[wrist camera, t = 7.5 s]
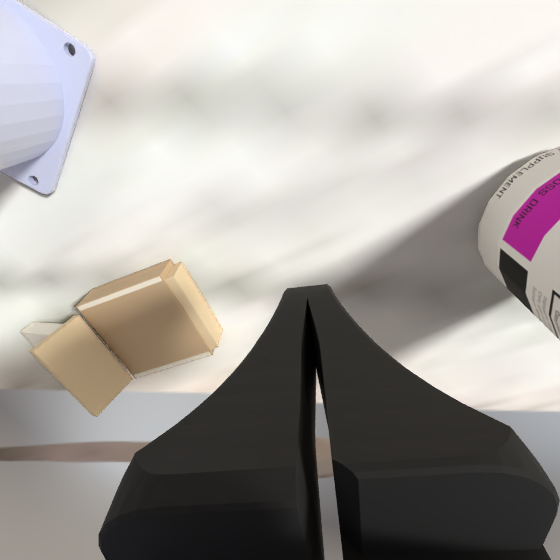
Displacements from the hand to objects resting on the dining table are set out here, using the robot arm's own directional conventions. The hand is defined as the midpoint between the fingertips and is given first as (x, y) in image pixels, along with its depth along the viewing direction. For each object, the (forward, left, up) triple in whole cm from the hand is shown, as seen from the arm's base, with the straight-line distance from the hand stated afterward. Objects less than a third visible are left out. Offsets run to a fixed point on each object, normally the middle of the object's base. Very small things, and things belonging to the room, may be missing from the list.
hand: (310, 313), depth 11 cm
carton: (-4, -12, -10) cm, 16 cm away
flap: (-6, -14, -7) cm, 17 cm away
